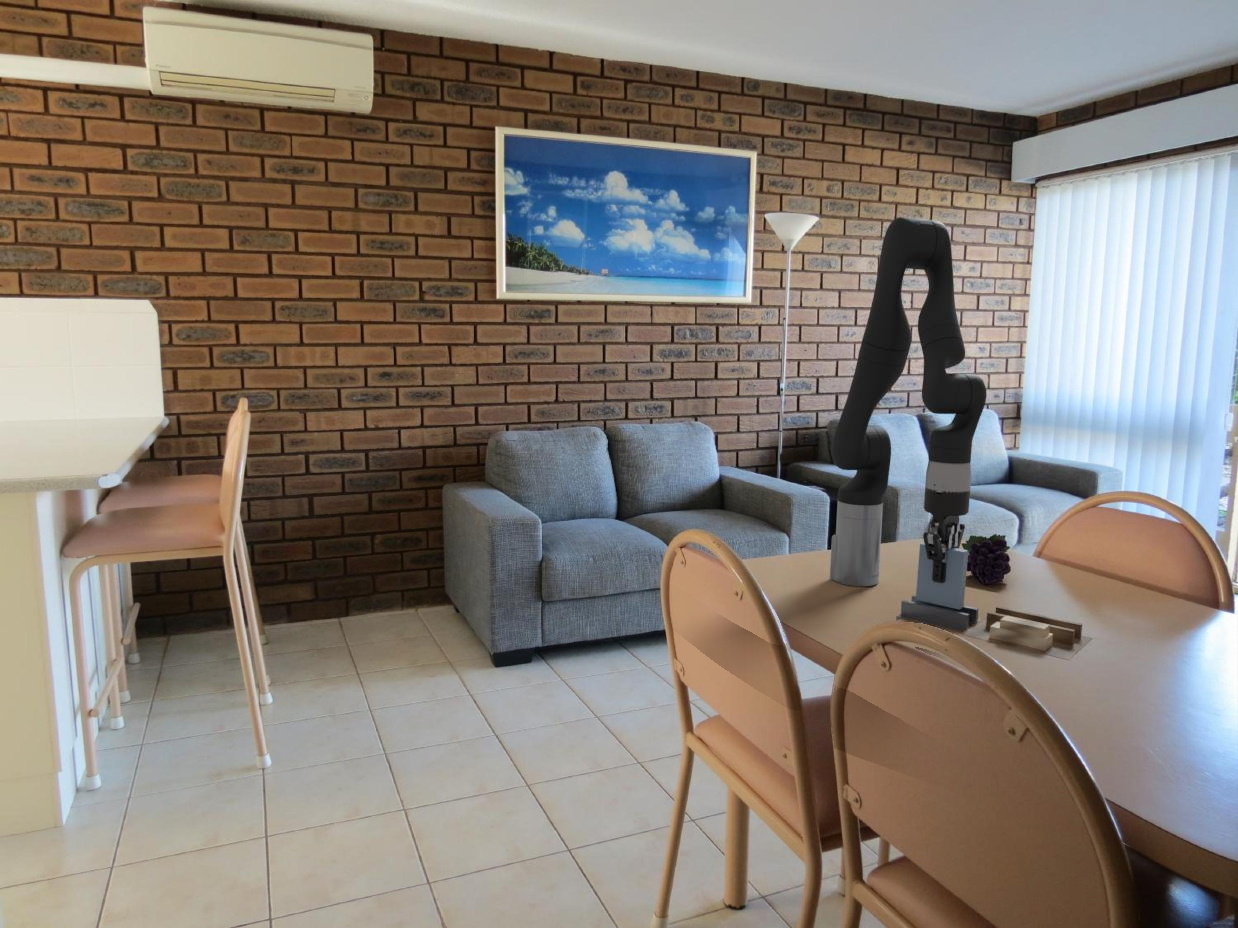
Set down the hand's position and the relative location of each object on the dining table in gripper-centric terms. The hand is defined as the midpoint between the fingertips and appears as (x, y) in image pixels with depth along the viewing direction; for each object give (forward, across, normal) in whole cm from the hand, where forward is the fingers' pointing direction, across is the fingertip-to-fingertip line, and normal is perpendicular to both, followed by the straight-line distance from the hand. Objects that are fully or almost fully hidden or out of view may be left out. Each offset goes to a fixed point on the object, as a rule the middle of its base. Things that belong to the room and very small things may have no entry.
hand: (941, 580), depth 158 cm
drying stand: (+8, 0, 0) cm, 8 cm away
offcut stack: (+7, +2, +15) cm, 17 cm away
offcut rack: (+8, -1, +15) cm, 17 cm away
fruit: (+8, -36, -4) cm, 38 cm away
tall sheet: (+4, 0, 0) cm, 4 cm away
